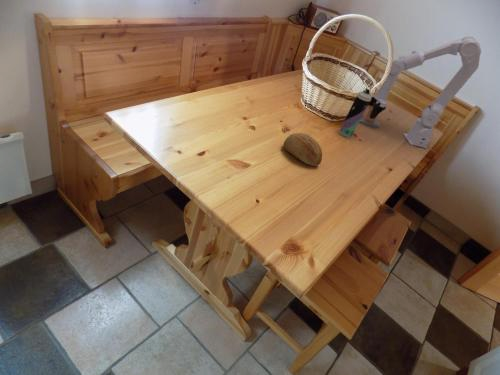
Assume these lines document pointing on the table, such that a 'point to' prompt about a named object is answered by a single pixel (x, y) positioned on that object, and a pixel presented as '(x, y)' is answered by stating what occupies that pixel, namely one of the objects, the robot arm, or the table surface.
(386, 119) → the table surface
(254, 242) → the table surface
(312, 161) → the bread roll
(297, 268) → the table surface
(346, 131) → the spray can
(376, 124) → the slate tile
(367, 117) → the clay cube
